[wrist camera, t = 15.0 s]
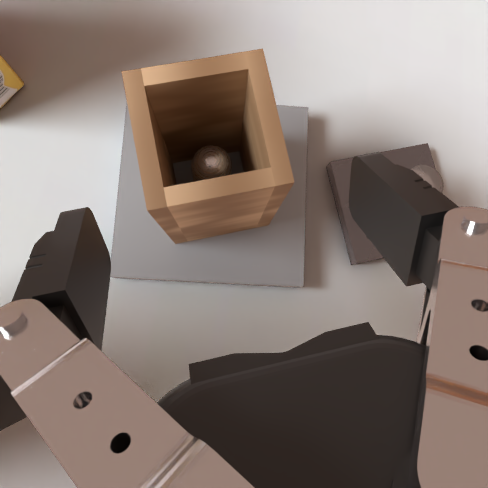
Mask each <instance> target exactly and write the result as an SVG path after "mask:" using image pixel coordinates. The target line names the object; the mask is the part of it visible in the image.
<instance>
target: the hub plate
mask: <svg viewBox="0 0 488 488" xmlns="http://www.w3.org/2000/svg"><path fill="white" fill-rule="evenodd" d="M276 106H277V110H278V115H279V119H280V123H281V127H282V132H283V136H284V140H285V144H286V148H287V153H288V157H289V161H290V165H291V169H292V174H293V178H294V184H293V186H292V187H291V189H290V191H289V192H288V194H287V196H286V197H285V199H284V201H283V202H282V204H281V206H280V207H279V209H278V210H277V212H276V214H275V215H274V217H273V219H272V220H271V222H270V224H269V225H267V226H262V227H257V228H252V229H248V230H243V231H238V232H233V233H228V234H223V235H218V236H213V237H208V238H203V239H198V240H193V241H188V242H183V243H178V244H175V243H174V242H173V241H172V240H171V238H170V237H169V236H168V235H167V234H166V233H165V231H164V230H163V229H162V228H161V227H160V225H159V224H158V223H157V222H156V221H155V220H154V218H153V217H152V216H151V215H150V214H149V212H148V211H147V208H146V203H145V197H144V192H143V186H142V181H141V175H140V170H139V164H138V159H137V153H136V148H135V142H134V137H133V132H132V126H131V121H130V115H129V110H128V104H127V106H126V116H125V126H124V136H123V146H122V155H121V165H120V175H119V185H118V195H117V205H116V215H115V224H114V234H113V244H112V254H111V274H110V277H114V278H125V279H145V280H164V281H183V282H202V283H222V284H241V285H260V286H280V287H304V251H305V213H306V174H307V136H308V107H295V106H282V105H276ZM173 168H174V173H175V178H176V183H177V185H179V184H185V183H190V182H195V181H201V180H206V179H211V178H217V177H222V176H227V175H233V174H238V173H243V172H244V170H243V165H242V161H241V156H240V152H239V151H237V152H232V153H227V152H226V151H225V150H223V149H222V148H220V147H218V146H213V145H209V146H205V147H202V148H201V149H199V150H198V151H197V152H196V153H195V154H194V156H193V158H192V160H188V161H182V162H177V163H173Z"/></svg>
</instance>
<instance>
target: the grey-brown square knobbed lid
mask: <svg viewBox="0 0 488 488" xmlns="http://www.w3.org/2000/svg"><path fill="white" fill-rule="evenodd" d="M380 153H381V154H383V155H384V156H385V157H386V158H387V159H389V160H390V161H391V162H392V163H393V164H395V165H397V164H398V165H400V166H403V167H405V168H408V169H410V170H413V171H414V172H415V173H417V174H418V175H419V176H421V177H422V178H423V180H424V181H425V180H426V181H427V182H428V183H429V184H431V185H432V188H433V187H434V188H436V189H437V190H438V191H439V192H441V193H442V190H443V181H442V178H441V176H440V174H439V173H438V172H437V171H436V170H435V166H434V163H433V159H432V156H431V153H430V149H429V146H428V143H427V144H422V145H416V146H411V147H406V148H401V149H396V150H390V151H385V152H380ZM352 160H353V158H348V159H343V160H338V161H333V162H330V163H329V165H328V166H327V171H328V175H329V179H330V183H331V187H332V191H333V195H334V198H335V202H336V206H337V210H338V214H339V218H340V222H341V226H342V230H343V234H344V238H345V242H346V246H347V250H348V254H349V258H350V262H351V265H352V264H357V263H361V262H366V261H371V260H375V259H380V258H384V257H383V256H382V255H381V254H380V252H379V251H378V250H377V249H376V247H375V246H374V245H373V244H372V242H371V241H370V240H369V238H368V237H367V236H366V235H365V233H364V232H363V231H362V230H361V228H360V227H359V226H358V225H357V223H356V222H355V221H354V219H353V218H352V216H351V213H350V209H349V189H350V175H351V163H352Z"/></svg>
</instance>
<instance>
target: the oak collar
mask: <svg viewBox="0 0 488 488" xmlns="http://www.w3.org/2000/svg"><path fill="white" fill-rule="evenodd" d="M122 77H123V82H124V88H125V93H126V99H127V104H128V110H129V115H130V121H131V126H132V132H133V137H134V142H135V148H136V153H137V159H138V164H139V170H140V175H141V181H142V186H143V192H144V197H145V203H146V208H147V211H148V212H149V214H150V215H151V216H152V217H153V218H154V220H155V221H156V222H157V223H158V224H159V225H160V227H161V228H162V229H163V230H164V231H165V233H166V234H167V235H168V236H169V237H170V238H171V240H172V241H173V242H174V243H175V244H178V243H183V242H188V241H193V240H198V239H203V238H208V237H213V236H218V235H223V234H228V233H233V232H238V231H243V230H248V229H252V228H257V227H262V226H267V225H269V224H270V222H271V220H272V219H273V217H274V215H275V214H276V212H277V210H278V209H279V207H280V206H281V204H282V202H283V201H284V199H285V197H286V196H287V194H288V192H289V191H290V189H291V187H292V186H293V184H294V178H293V174H292V169H291V165H290V161H289V157H288V153H287V148H286V144H285V140H284V136H283V132H282V127H281V123H280V119H279V115H278V110H277V106H276V102H275V98H274V94H273V89H272V85H271V81H270V77H269V73H268V68H267V64H266V60H265V56H264V52H263V49H258V50H252V51H246V52H240V53H233V54H227V55H221V56H215V57H208V58H202V59H196V60H190V61H184V62H177V63H171V64H165V65H159V66H152V67H146V68H140V69H134V70H128V71H122ZM209 145H213V146H218V147H220V148H222V149H223V150H225V151H226V152H227V153H232V152H237V151H239V152H240V156H241V161H242V165H243V170H244V172H243V173H238V174H233V175H227V176H222V177H217V178H211V179H206V180H201V181H195V182H190V183H185V184H179V185H177V183H176V178H175V173H174V168H173V163H177V162H182V161H188V160H192V158H193V156H194V154H195V153H196V152H197V151H198V150H199V149H201V148H202V147H205V146H209Z"/></svg>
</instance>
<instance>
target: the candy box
mask: <svg viewBox="0 0 488 488" xmlns="http://www.w3.org/2000/svg"><path fill="white" fill-rule="evenodd" d="M23 86H24V82H23V81H22V80H21V79H20V77H19V76H18V75H17V74H16V73H15V72H14V70H13V69H12V68H11V67H10V66H9V65H8V63H7V62H6V61H5V60H4V59H3V58H2V56H1V55H0V109H1V108H2V107H3V106H4V105H5V103H6V102H7V101H8V100H9V99H10V98H11V97H12V96H13V95H14V94H15V93H16V92H17V91H18V90H19V89H20V88H21V87H23Z"/></svg>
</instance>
